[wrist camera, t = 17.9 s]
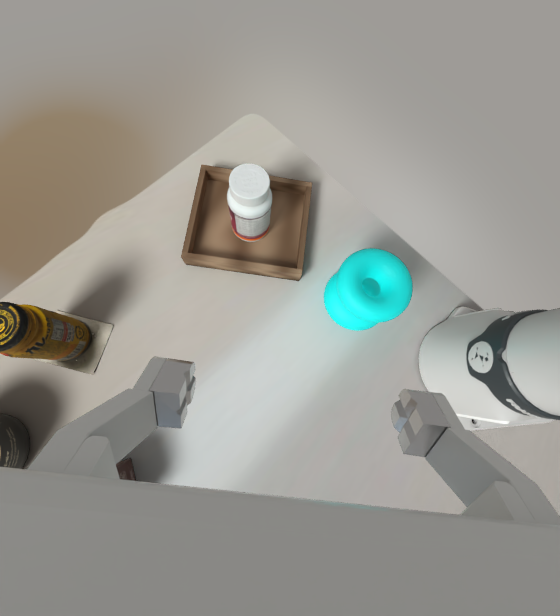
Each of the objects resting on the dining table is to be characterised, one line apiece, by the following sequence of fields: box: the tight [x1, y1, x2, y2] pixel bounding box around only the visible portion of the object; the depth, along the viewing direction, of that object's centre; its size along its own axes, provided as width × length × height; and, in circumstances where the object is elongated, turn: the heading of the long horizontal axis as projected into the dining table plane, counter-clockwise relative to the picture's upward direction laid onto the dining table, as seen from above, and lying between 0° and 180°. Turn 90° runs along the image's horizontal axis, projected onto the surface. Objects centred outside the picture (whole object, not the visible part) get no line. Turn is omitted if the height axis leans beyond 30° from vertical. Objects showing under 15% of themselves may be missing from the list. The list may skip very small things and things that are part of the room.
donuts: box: [324, 248, 412, 330], centre depth 40 cm, size 10×10×10 cm
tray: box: [181, 165, 312, 281], centre depth 45 cm, size 18×16×3 cm
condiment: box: [0, 302, 113, 375], centre depth 35 cm, size 7×8×12 cm
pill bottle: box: [227, 163, 272, 242], centre depth 41 cm, size 6×6×11 cm
